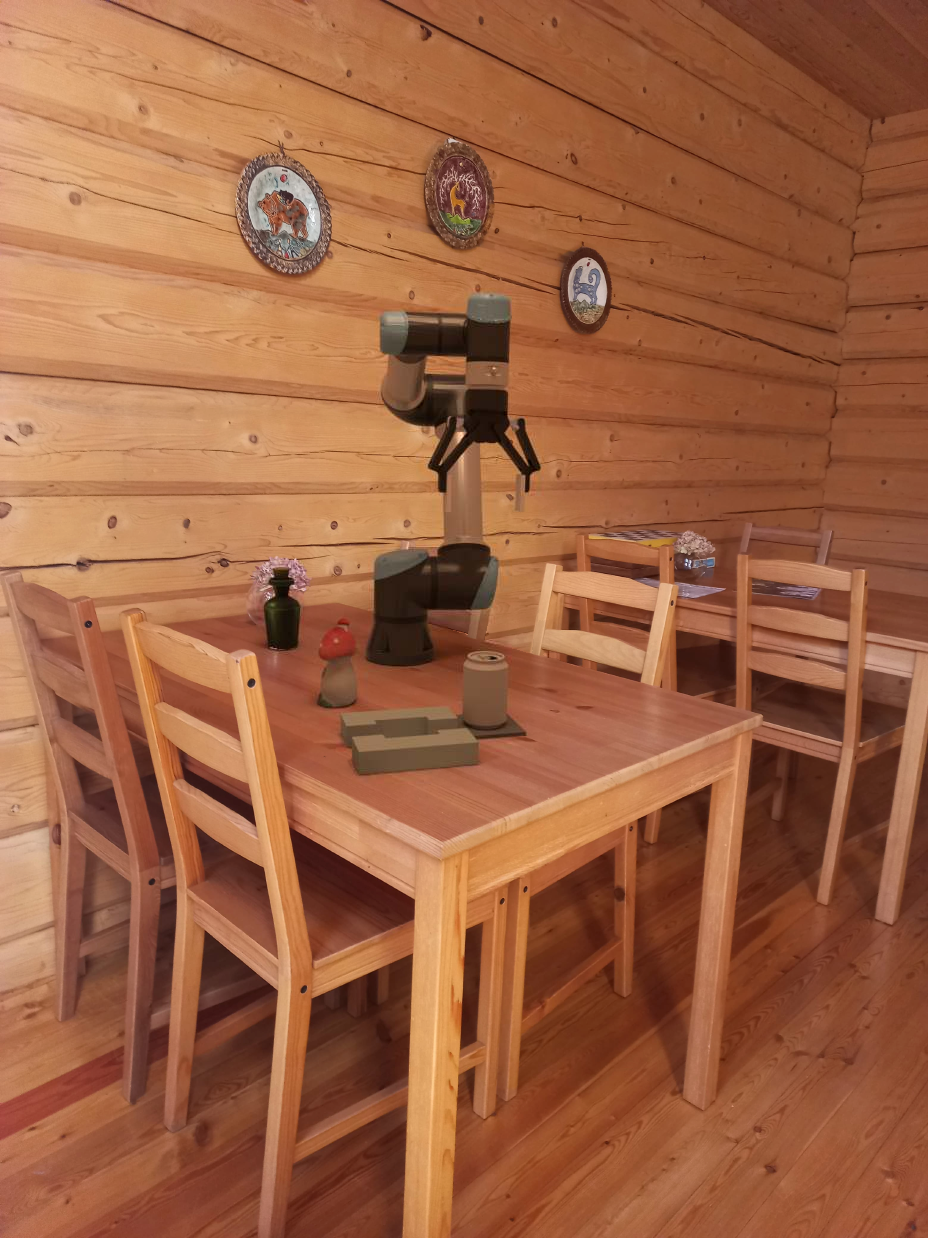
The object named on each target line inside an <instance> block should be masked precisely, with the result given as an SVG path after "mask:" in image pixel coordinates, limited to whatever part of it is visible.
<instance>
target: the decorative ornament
mask: <svg viewBox="0 0 928 1238" xmlns="http://www.w3.org/2000/svg"><path fill="white" fill-rule="evenodd" d="M336 624H337V626H335V627H333V628H331V629H329V630H328V631H327V632H326V633H325V634H324V636H323V638H321V641H320V643H319V646H318V656H319V658H320V659H322V660H323V661H326V665H325V667H324V669H323V670H322V673H321V677H320V678H321V679H320V690H318V692H317V693H316V694H317V695H316V701H317V703H318V705H319V706H321V707H324V708H329V709H331V708H332V709H333V708H338V707H339V708H340V707H347V706H349V705H351V704H352V703H353V704H354V702H355V701H356V698H357V694H358V678H357V675H356V672H355V669H354V666H353V664H352V661H351V658H352V657H353V656H355V655H356V653H357V652H358V644H357V641H356V638H355V637H354V635H353V634H352V632H351V631H350V630H349V629H348V628H349V627H350V621H349V620H348V619H346V618H340V619H338V620H337V622H336Z"/></svg>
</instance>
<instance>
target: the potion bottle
mask: <svg viewBox="0 0 928 1238" xmlns="http://www.w3.org/2000/svg"><path fill="white" fill-rule="evenodd" d="M290 571H291V567H288V566H275V567H272V572H273V573H272V574H273V577H270V578H268V579H269V580H268V581H267V582H268V583H267V584H268V585H269V586H272V588H273V592H274V596H273V597H271V598H269V599H268V600H266V601H265V603H264V604H263V613H264V614H263V615H264V622H265V631H266V639H267V640H266V641H267V647H268V646H269V647H273V648H277V649H291V648H295V647H296V648H297V647H298V646H299V632H300V621H301V620H300V619H301V604H300V602H299V601H298V600H297V599H295V598H294V597H293V596H290V595H289V594H290V589H291V586H293V585H295V584H296V581H295V580H294V578H293V577H292V576H290ZM269 647H268V648H269ZM296 648H295V649H296Z"/></svg>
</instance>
